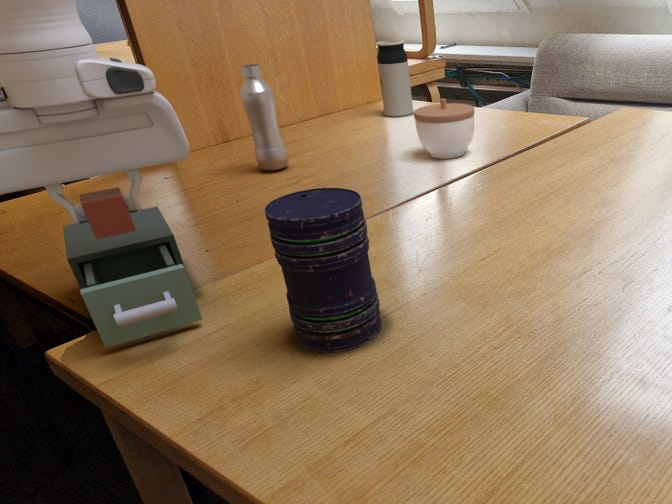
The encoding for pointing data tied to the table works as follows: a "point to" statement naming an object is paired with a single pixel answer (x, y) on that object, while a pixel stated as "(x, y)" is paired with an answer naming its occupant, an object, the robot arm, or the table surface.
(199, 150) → the table surface
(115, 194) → the block
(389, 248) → the table surface
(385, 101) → the travel mug
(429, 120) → the lidded bowl
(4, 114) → the robot arm
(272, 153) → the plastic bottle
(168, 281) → the drawer
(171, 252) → the cabinet
